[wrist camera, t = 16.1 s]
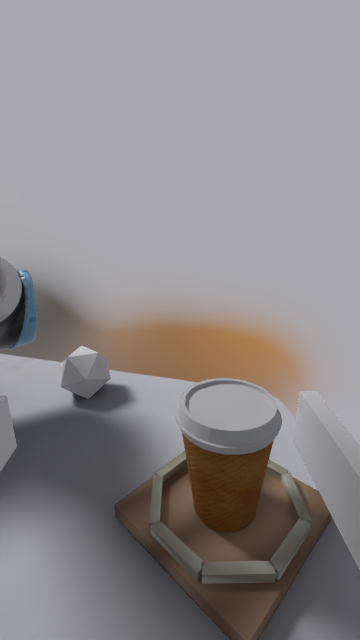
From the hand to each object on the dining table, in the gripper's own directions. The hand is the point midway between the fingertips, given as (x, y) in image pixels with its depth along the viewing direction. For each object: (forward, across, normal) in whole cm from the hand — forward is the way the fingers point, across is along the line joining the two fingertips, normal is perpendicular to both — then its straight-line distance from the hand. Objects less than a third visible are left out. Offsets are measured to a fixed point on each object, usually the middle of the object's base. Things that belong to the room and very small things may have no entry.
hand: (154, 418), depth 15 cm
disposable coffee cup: (+12, +6, -20) cm, 24 cm away
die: (+38, -15, -22) cm, 46 cm away
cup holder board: (+13, +6, -21) cm, 25 cm away
